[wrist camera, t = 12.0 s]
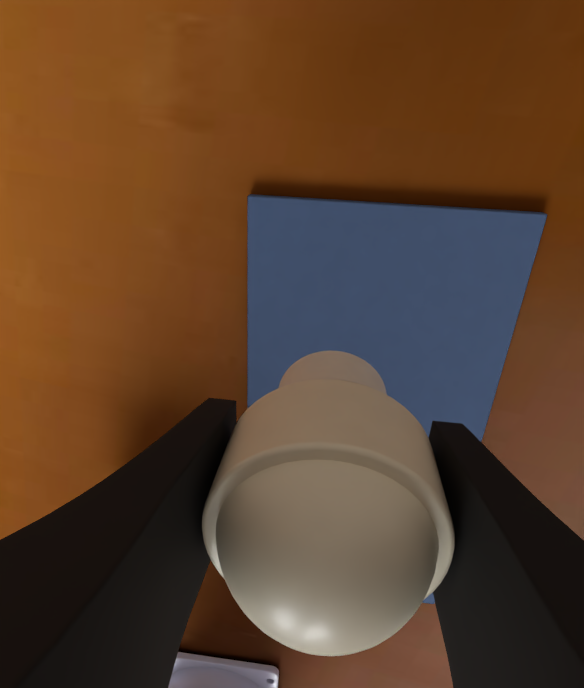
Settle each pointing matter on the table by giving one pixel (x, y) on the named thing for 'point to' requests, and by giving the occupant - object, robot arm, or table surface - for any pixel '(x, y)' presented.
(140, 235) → the table surface
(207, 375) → the table surface
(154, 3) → the table surface
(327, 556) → the cream mushroom
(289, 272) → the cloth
